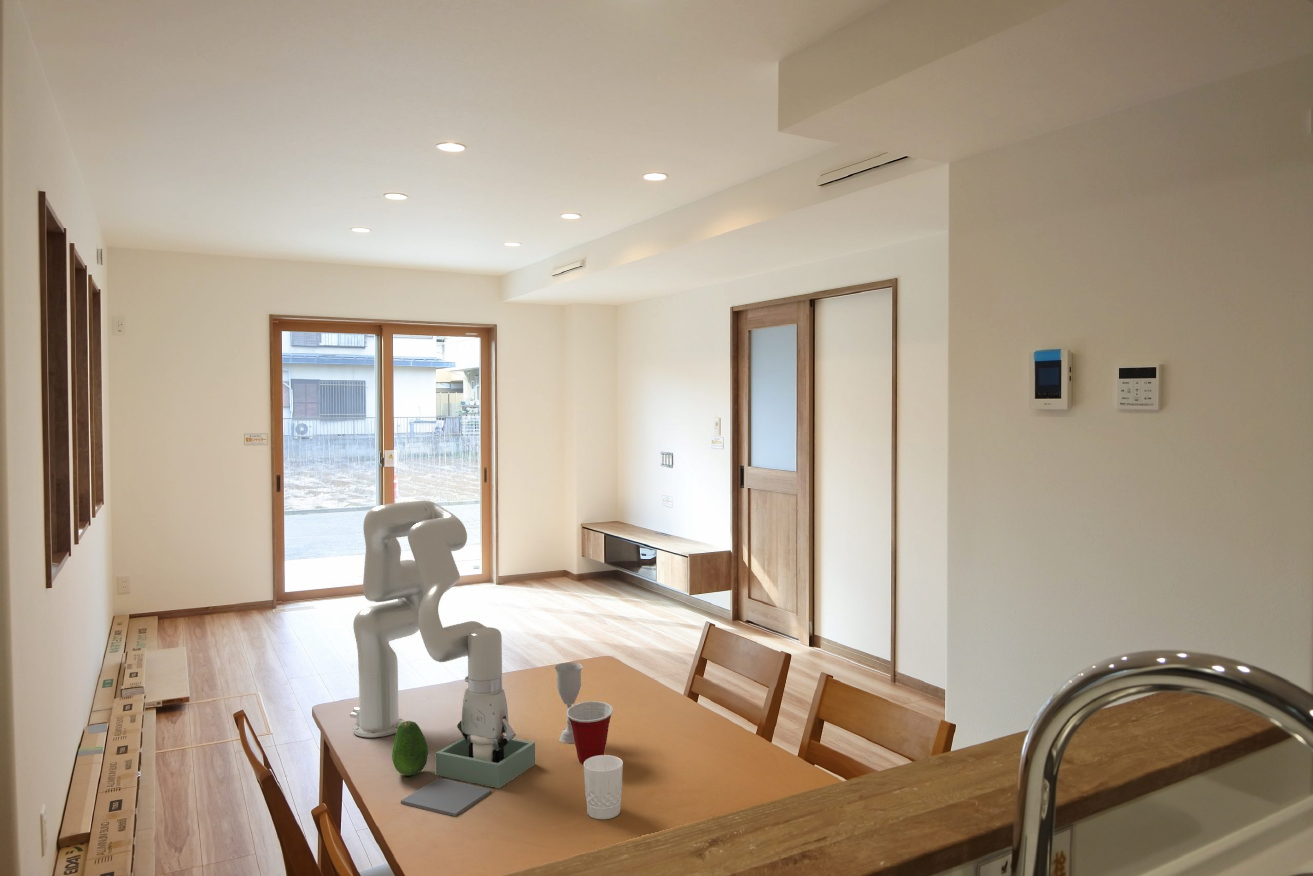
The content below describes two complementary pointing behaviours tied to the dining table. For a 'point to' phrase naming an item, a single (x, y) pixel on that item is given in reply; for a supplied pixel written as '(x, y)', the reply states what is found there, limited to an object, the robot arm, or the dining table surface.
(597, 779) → the white cup
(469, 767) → the green open box
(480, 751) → the white mushroom shaped cylinder
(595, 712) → the plastic cup
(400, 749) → the avocado
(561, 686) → the chalice
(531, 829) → the dining table surface
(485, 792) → the mat
